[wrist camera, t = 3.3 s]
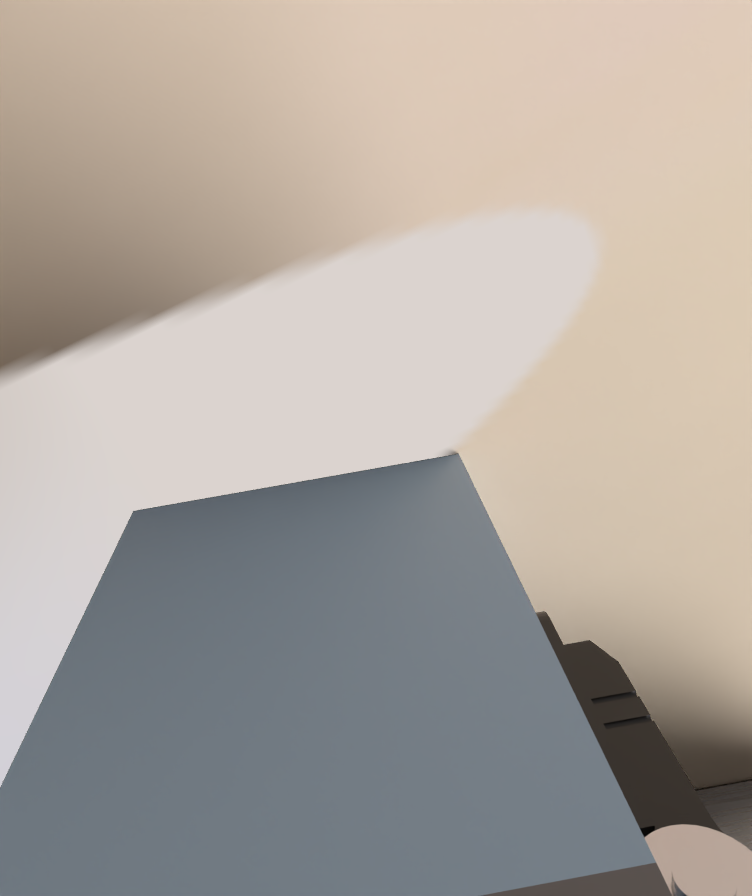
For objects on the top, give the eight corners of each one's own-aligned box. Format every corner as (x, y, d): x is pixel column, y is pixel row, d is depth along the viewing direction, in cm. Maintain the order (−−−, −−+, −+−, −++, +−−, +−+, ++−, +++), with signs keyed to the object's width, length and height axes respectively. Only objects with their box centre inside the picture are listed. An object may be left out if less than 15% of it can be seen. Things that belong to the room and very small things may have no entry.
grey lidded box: (133, 511, 11) (-203, 1212, 4) (458, 453, 11) (738, 1029, 4) (213, 753, 13) (94, 1509, 6) (487, 703, 13) (705, 1385, 6)
